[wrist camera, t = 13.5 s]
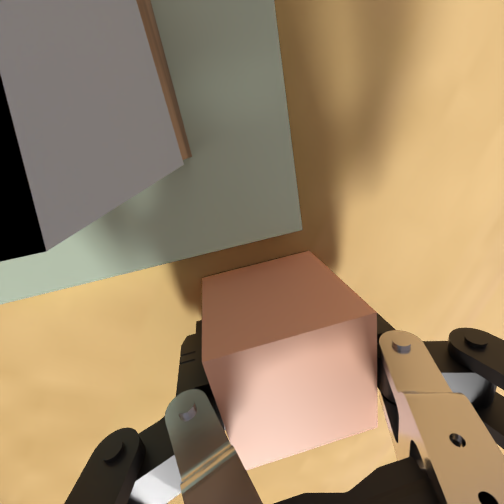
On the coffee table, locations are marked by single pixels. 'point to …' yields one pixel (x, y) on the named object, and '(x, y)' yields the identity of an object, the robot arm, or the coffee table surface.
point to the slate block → (79, 116)
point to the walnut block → (4, 136)
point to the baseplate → (194, 157)
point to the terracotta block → (288, 357)
